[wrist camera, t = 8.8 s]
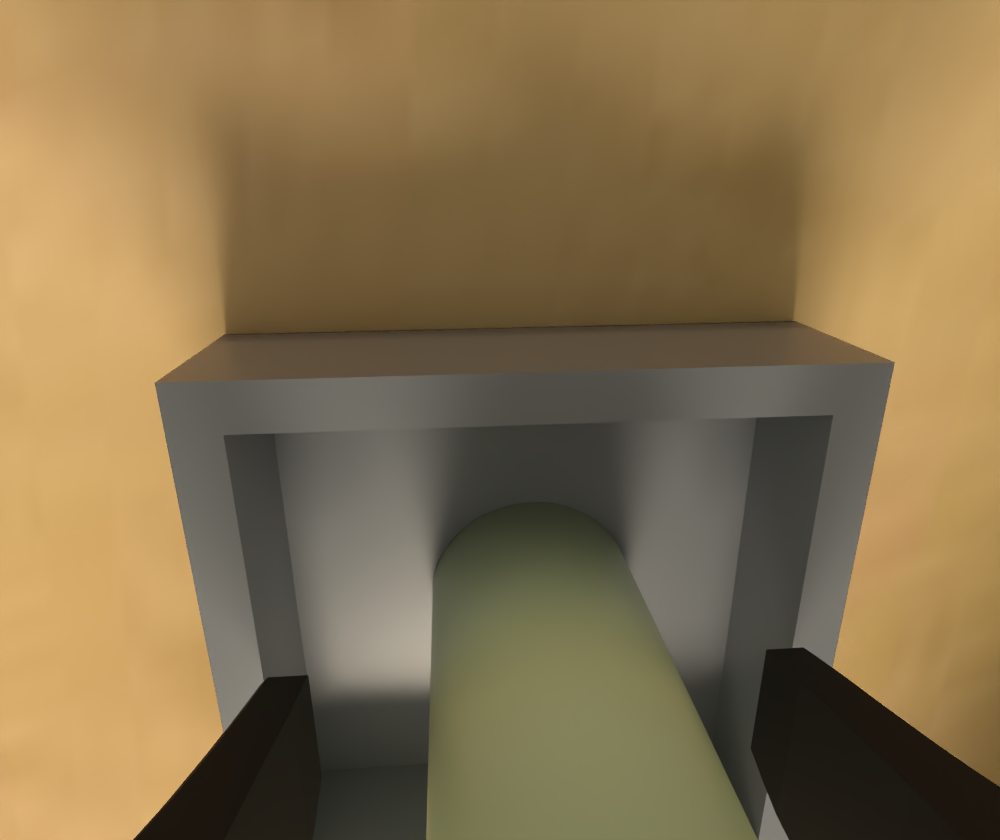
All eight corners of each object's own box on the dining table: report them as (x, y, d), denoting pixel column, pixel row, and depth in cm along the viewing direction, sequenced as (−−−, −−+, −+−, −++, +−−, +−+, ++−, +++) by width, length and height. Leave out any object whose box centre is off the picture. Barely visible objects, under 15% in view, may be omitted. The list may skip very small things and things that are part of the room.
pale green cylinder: (631, 497, 13) (825, 827, 6) (623, 661, 14) (774, 1072, 8) (427, 508, 13) (410, 864, 6) (437, 675, 14) (433, 1111, 7)
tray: (794, 321, 13) (893, 362, 10) (731, 748, 16) (791, 868, 13) (224, 334, 12) (154, 382, 9) (293, 777, 16) (258, 909, 13)
